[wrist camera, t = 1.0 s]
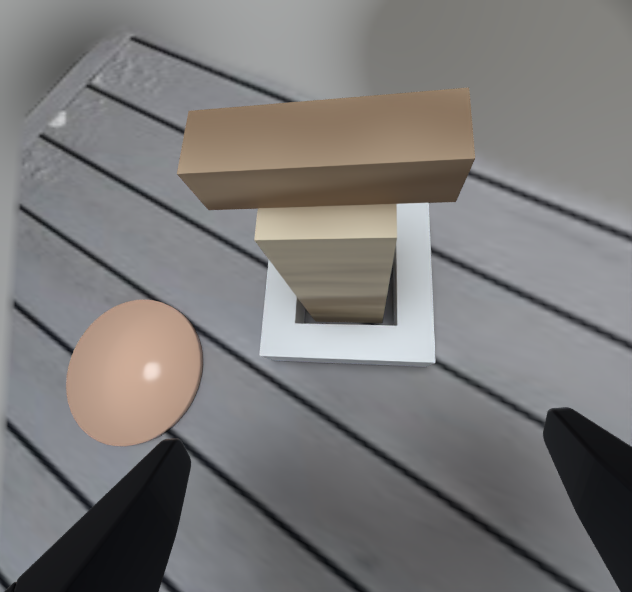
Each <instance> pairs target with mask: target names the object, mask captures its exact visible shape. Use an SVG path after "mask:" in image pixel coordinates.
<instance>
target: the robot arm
mask: <svg viewBox="0 0 632 592" xmlns="http://www.w3.org/2000/svg"><path fill="white" fill-rule="evenodd" d="M543 437H544V441H545V444H546V446H547V449H548V451H549V453H550V455H551V458H552V460H553V462H554V464H555V467H556V469H557V471H558V473H559V476H560V478H561V480H562V482H563V485H564V487H565V489H566V491H567V494H568V496H569V498H570V500H571V502H572V505H573V507H574V509H575V511H576V513H577V515H578V517H579V518H580V520H581V522H582V524H583V526H584V528H585V529H586V531H587V533H588V535H589V536H590V538H591V540H592V542H593V544H594V545H595V547H596V549H597V551H598V552H599V554H600V556H601V558H602V559H603V561H604V563H605V565H606V567H607V568H608V570H609V572H610V574H611V575H612V577H613V579H614V581H615V582H616V584H617V586H618V588H619V590H620V591H621V592H632V447H631V446H630V445H628V444H627V443H625V442H623V441H622V440H620V439H619V438H617V437H616V436H614V435H612V434H611V433H609V432H608V431H606V430H605V429H603V428H602V427H600V426H598V425H597V424H595V423H594V422H592V421H591V420H589V419H587V418H586V417H584V416H583V415H581V414H580V413H578V412H576V411H575V410H573V409H571V408H568V407H563V408H552V409H550V410H549V411H548V412H547V417H546V421H545V426H544V430H543ZM190 469H191V459H190V456H189V454H188V453H187V451H186V449H185V447H184V445H183V443H182V441H181V440H180V439H178V438H175V439H165V440H163V441H161V442H160V443H159V444H158V445H157V446H156V447H155V448H154V449H153V450H152V451H151V452H150V453H148V454H147V455H146V456H145V457H144V458H143V459H142V460H141V461H140V462H139V463H138V464H137V465H136V466H135V467H134V468H133V469H132V470H131V471H130V472H129V473H128V474H127V475H126V476H124V477H123V478H122V479H121V480H120V481H119V482H118V483H117V484H116V485H115V486H114V487H113V488H112V489H111V490H110V491H109V492H108V493H107V494H106V495H105V496H104V497H103V498H102V499H100V500H99V501H98V502H97V503H96V504H95V505H94V506H93V507H92V508H91V509H90V510H89V511H88V512H87V513H86V514H85V515H84V516H83V517H82V518H81V519H80V520H79V521H78V522H76V523H75V524H74V525H73V526H72V527H71V528H70V529H69V530H68V531H67V532H66V533H65V534H64V535H63V536H62V537H61V538H60V539H59V540H58V541H57V542H56V543H55V544H54V545H53V546H51V547H50V548H49V549H48V550H47V551H46V552H45V553H44V554H43V555H42V556H41V557H40V558H39V559H38V560H37V561H36V562H35V563H34V564H33V565H32V566H31V567H30V568H29V569H27V570H26V571H25V572H24V573H23V574H22V575H21V576H20V577H19V578H18V580H17V582H14V583H13V584H12V585H11V586H10V587H9V588H7V589H6V590H5V591H4V592H159V588H160V585H161V582H162V579H163V576H164V572H165V569H166V566H167V563H168V559H169V556H170V553H171V550H172V546H173V543H174V540H175V536H176V533H177V529H178V525H179V521H180V516H181V511H182V507H183V502H184V497H185V492H186V488H187V483H188V478H189V474H190Z"/></svg>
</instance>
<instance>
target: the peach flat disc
mask: <svg viewBox="0 0 632 592" xmlns="http://www.w3.org/2000/svg"><path fill="white" fill-rule="evenodd" d="M202 367H203V356H202V348H201V343H200V340H199V337H198V335H197V332H196V330H195V328H194V327H193V325H192V324H191V322H190V321H189V320H188V319H187V318H186V317H185V316H184V315H183V314H182V313H181V312H179V311H178V310H176V309H175V308H173V307H171V306H169V305H166V304H164V303H161V302H158V301H153V300H135V301H129V302H126V303H123V304H120V305H118V306H116V307H113V308H112V309H110V310H108V311H107V312H105V313H104V314H102V315H101V316H100V317H99V318H97V319H96V320H95V321H94V322H93V323H92V324H91V325H90V326H89V328H88V329H87V330H86V331H85V332H84V334H83V335H82V337H81V338H80V340H79V342H78V344H77V345H76V347H75V349H74V352H73V354H72V357H71V360H70V363H69V367H68V372H67V382H66V389H67V398H68V403H69V407H70V410H71V412H72V415H73V417H74V419H75V420H76V422H77V423H78V425H79V426H80V427H81V428H82V430H83V431H84V432H85V433H87V434H88V435H89V436H90V437H92V438H93V439H95V440H97V441H99V442H102V443H104V444H107V445H113V446H129V445H135V444H140V443H144V442H147V441H150V440H152V439H154V438H156V437H158V436H160V435H162V434H163V433H165V432H166V431H168V430H169V429H170V428H171V427H173V426H174V425H175V424H176V423H177V422H178V421H179V420H180V419H181V418H182V416H183V415H184V414H185V412H186V411H187V410H188V408H189V406H190V405H191V403H192V401H193V399H194V397H195V395H196V393H197V390H198V387H199V384H200V380H201V375H202Z"/></svg>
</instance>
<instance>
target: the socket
mask: <svg viewBox="0 0 632 592" xmlns="http://www.w3.org/2000/svg"><path fill="white" fill-rule="evenodd" d="M393 296H394V326H386V325H342V324H305V307H304V306H303V304H302V303H301V302H300V300H299V299H298V298H297V296H296V295H295V294H294V292H293V291H292V290H291V288H290V287H289V286H288V284H287V283H286V282H285V280H284V279H283V278H282V276H281V275H280V274H279V272H278V271H277V270H276V268H275V267H274V266H273V264H272V263H271V262H270V260H269V263H268V273H267V284H266V294H265V304H264V315H263V325H262V335H261V346H260V356H261V357H264V358H267V359H270V360H273V361H295V362H320V363H344V364H369V365H393V366H418V367H427V366H429V365H432V364H434V363H435V341H434V317H433V293H432V269H431V246H430V222H429V203H407V204H397V241H396V247H395V252H394V258H393Z"/></svg>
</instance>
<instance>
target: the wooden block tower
mask: <svg viewBox="0 0 632 592" xmlns="http://www.w3.org/2000/svg"><path fill="white" fill-rule="evenodd" d="M474 160H475V151H474V139H473V128H472V116H471V105H470V93H469V88H458V89H446V90H435V91H424V92H423V91H422V92H411V93H399V94H388V95H374V96H362V97H350V98H338V99H326V100H314V101H303V102H291V103H279V104H267V105H255V106H243V107H231V108H219V109H207V110H195V111H189V112H188V118H187V123H186V128H185V134H184V139H183V144H182V150H181V155H180V160H179V166H178V171H177V175H178V176H179V177H180V178H181V179H182V180H183V181H184V183H185V184H186V185H187V186H188V187H189V188H190V189H191V191H192V192H193V193H194V194H195V195H196V196H197V197H198V199H199V200H200V201H201V202H202V203H203V204H204V205H205V207H206V208H207V209H208V210H226V209H256V208H258V212H257V221H256V230H255V239H254V240H255V242H256V243H257V244H258V246H259V247H260V248H261V250H262V251H263V252H264V254H265V255H266V256H267V258H268V259H269V260H270V262H271V263H272V264H273V266H274V267H275V268H276V270H277V271H278V272H279V274H280V275H281V276H282V278H283V279H284V280H285V282H286V283H287V284H288V286H289V287H290V288H291V290H292V291H293V292H294V294H295V295H296V296H297V298H298V299H299V300H300V302H301V303H302V304H303V306H304V307H305V308H306V310H307V311H308V312H309V314H310V315H311V316H312V318H313V319H314V320H315V322H355V323H382V321H383V316H384V310H385V304H386V298H387V293H388V287H389V281H390V275H391V270H392V264H393V258H394V252H395V247H396V241H397V204H407V203H437V202H456V200H457V198H458V196H459V193H460V191H461V189H462V187H463V185H464V182H465V180H466V178H467V176H468V173H469V171H470V169H471V167H472V164H473V162H474Z"/></svg>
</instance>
